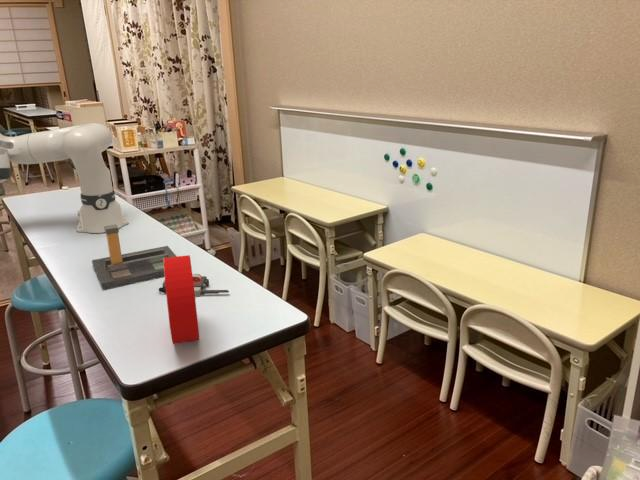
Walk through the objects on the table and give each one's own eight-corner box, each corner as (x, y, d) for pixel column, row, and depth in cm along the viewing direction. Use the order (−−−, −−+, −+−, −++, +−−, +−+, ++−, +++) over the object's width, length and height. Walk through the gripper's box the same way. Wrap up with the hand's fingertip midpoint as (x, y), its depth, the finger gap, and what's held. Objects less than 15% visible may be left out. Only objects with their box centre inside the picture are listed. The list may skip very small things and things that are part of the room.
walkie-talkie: (156, 298, 141) (228, 297, 141) (154, 284, 139) (227, 283, 139) (165, 284, 149) (233, 283, 149) (163, 270, 147) (232, 270, 148)
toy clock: (201, 356, 113) (192, 275, 106) (174, 361, 112) (163, 279, 105) (195, 314, 131) (188, 243, 124) (172, 318, 130) (163, 245, 123)
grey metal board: (92, 266, 161) (90, 254, 160) (168, 251, 173) (166, 240, 171) (103, 289, 145) (100, 277, 144) (185, 271, 156) (184, 260, 155)
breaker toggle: (110, 265, 156) (103, 226, 151) (122, 263, 157) (115, 224, 153) (112, 269, 153) (105, 229, 148) (124, 266, 155) (118, 227, 150)
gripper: (-39, 147, 144) (17, 153, 148) (-64, 161, 125) (0, 166, 130) (-40, 125, 142) (17, 131, 147) (-66, 135, 124) (0, 142, 128)
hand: (9, 148), depth 138 cm, fingers open, 8 cm apart
